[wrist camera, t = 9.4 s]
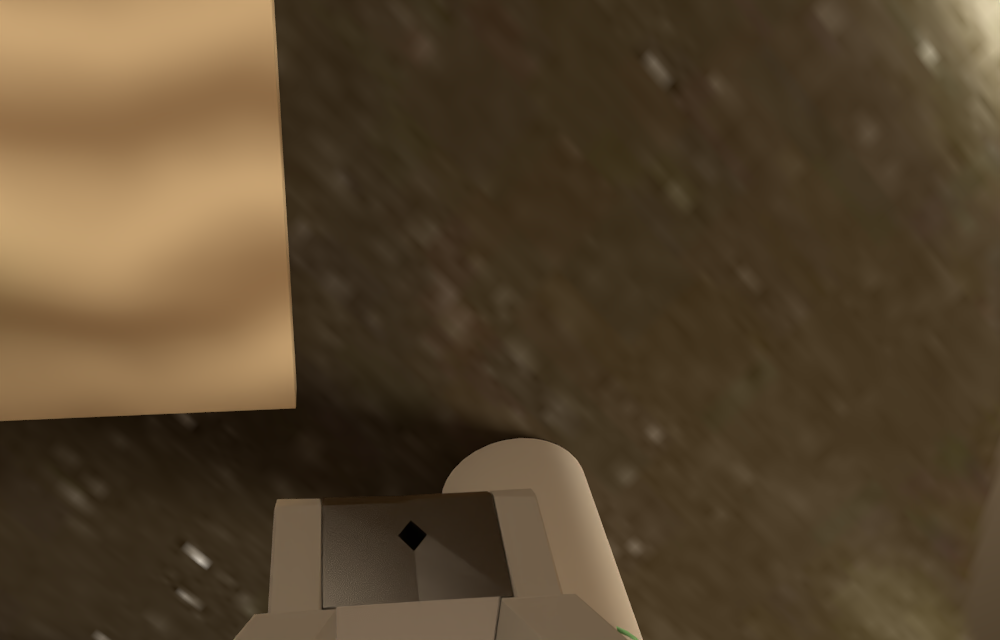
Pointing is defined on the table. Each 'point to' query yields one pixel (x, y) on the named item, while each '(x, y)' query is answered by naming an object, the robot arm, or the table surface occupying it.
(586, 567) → the cylindrical container
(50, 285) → the cutting board
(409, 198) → the table surface
